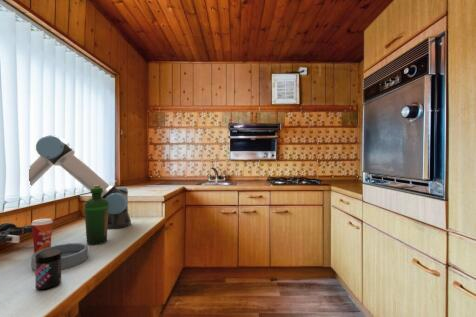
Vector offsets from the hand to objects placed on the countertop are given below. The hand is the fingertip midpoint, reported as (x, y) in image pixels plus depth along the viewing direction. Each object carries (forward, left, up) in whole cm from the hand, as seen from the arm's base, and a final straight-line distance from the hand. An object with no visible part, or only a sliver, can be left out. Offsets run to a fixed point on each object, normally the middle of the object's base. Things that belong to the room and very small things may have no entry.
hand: (36, 234), depth 110 cm
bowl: (-11, +20, -7) cm, 24 cm away
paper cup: (-3, +2, -8) cm, 8 cm away
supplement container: (-9, +41, -8) cm, 43 cm away
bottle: (-24, +1, -8) cm, 25 cm away
